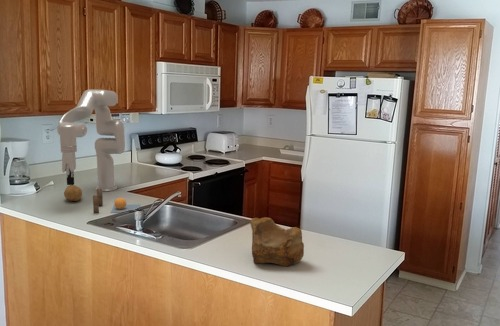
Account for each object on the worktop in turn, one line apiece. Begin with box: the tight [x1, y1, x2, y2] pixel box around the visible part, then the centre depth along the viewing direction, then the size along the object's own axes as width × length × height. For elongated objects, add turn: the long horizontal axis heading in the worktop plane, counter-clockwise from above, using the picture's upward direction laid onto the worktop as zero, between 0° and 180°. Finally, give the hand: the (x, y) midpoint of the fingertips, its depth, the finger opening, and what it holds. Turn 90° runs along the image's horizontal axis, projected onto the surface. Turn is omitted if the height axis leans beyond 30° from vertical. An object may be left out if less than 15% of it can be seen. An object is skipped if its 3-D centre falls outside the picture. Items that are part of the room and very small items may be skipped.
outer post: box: [92, 194, 100, 215], centre depth 236 cm, size 3×3×9 cm
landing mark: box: [110, 203, 141, 214], centre depth 245 cm, size 14×14×1 cm
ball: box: [114, 197, 127, 209], centre depth 244 cm, size 6×6×6 cm
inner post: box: [96, 189, 104, 208], centre depth 248 cm, size 3×3×9 cm
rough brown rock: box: [249, 216, 305, 267], centre depth 178 cm, size 23×17×15 cm
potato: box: [63, 184, 83, 202], centre depth 258 cm, size 10×14×8 cm
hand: (70, 184), depth 238 cm, fingers closed
